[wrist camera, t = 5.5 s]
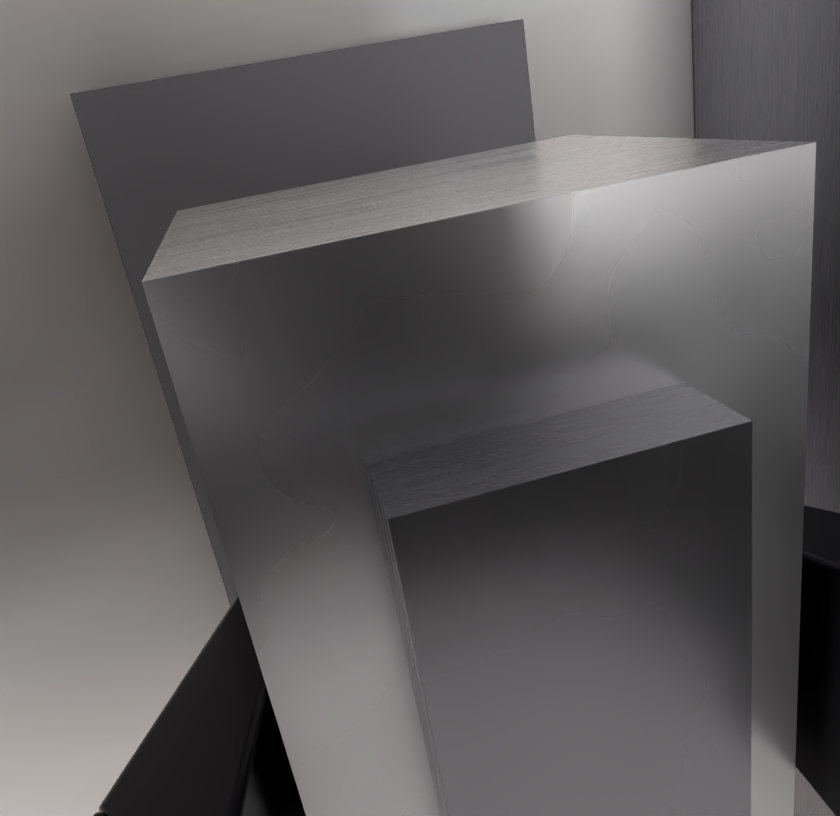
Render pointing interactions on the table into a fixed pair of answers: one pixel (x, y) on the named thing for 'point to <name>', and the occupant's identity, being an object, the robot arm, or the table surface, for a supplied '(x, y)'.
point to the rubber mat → (292, 142)
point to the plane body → (834, 184)
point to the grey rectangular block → (513, 470)
